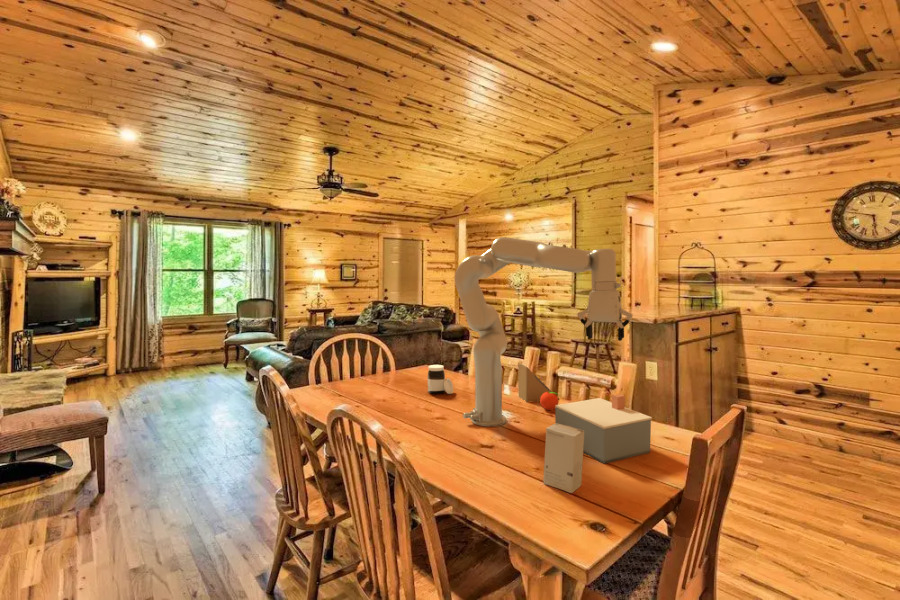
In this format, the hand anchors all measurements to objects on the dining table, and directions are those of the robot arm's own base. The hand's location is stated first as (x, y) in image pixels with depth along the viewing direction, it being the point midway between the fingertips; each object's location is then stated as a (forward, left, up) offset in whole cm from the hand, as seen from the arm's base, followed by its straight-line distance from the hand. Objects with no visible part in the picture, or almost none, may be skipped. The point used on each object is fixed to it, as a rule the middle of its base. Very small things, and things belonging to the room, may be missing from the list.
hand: (604, 339), depth 148 cm
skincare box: (-34, -22, -32) cm, 52 cm away
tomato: (0, +29, -32) cm, 43 cm away
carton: (-7, -6, -32) cm, 33 cm away
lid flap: (-7, -6, -22) cm, 24 cm away
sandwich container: (+5, +43, -32) cm, 54 cm away
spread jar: (-29, +70, -32) cm, 82 cm away
